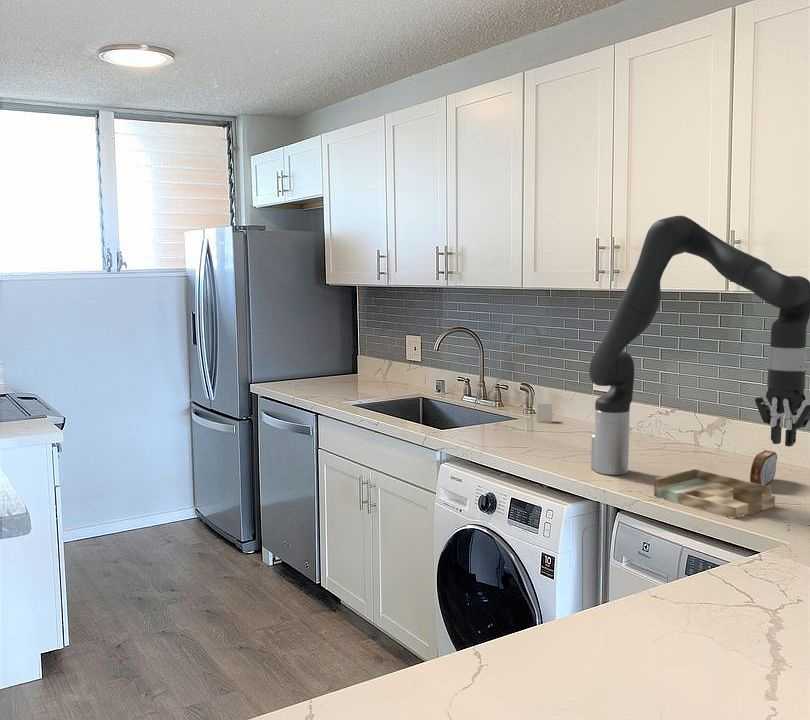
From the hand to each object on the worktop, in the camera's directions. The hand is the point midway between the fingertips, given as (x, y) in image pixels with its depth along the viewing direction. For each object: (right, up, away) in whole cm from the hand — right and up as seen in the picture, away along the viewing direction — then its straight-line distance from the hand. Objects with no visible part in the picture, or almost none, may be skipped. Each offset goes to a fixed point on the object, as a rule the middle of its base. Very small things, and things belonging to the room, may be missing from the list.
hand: (783, 444), depth 181 cm
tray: (-10, -15, +16) cm, 24 cm away
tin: (+9, -14, +31) cm, 36 cm away
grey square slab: (-33, -5, +117) cm, 122 cm away
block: (-5, -14, +8) cm, 17 cm away
